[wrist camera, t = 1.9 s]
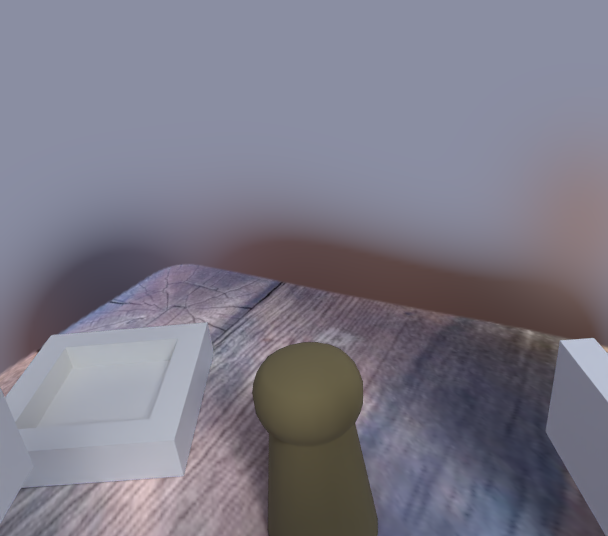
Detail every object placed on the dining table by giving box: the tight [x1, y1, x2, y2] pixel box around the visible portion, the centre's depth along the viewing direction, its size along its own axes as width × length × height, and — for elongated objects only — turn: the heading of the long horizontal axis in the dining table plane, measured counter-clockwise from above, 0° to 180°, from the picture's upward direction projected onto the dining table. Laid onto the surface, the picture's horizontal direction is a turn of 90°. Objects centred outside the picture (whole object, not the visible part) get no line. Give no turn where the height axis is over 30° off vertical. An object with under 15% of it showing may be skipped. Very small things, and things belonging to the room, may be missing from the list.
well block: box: [5, 322, 214, 488], centre depth 38 cm, size 13×13×3 cm
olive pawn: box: [252, 342, 378, 536], centre depth 27 cm, size 6×6×11 cm
